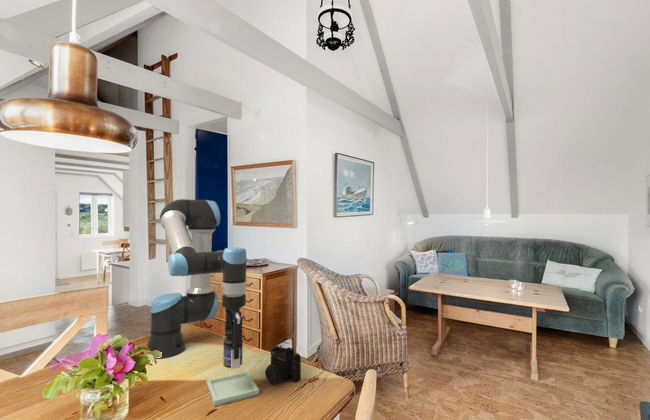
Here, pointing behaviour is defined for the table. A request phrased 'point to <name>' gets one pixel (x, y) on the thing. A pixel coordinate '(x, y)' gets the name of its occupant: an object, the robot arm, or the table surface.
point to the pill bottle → (227, 350)
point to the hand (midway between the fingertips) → (232, 363)
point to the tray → (231, 388)
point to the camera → (283, 365)
